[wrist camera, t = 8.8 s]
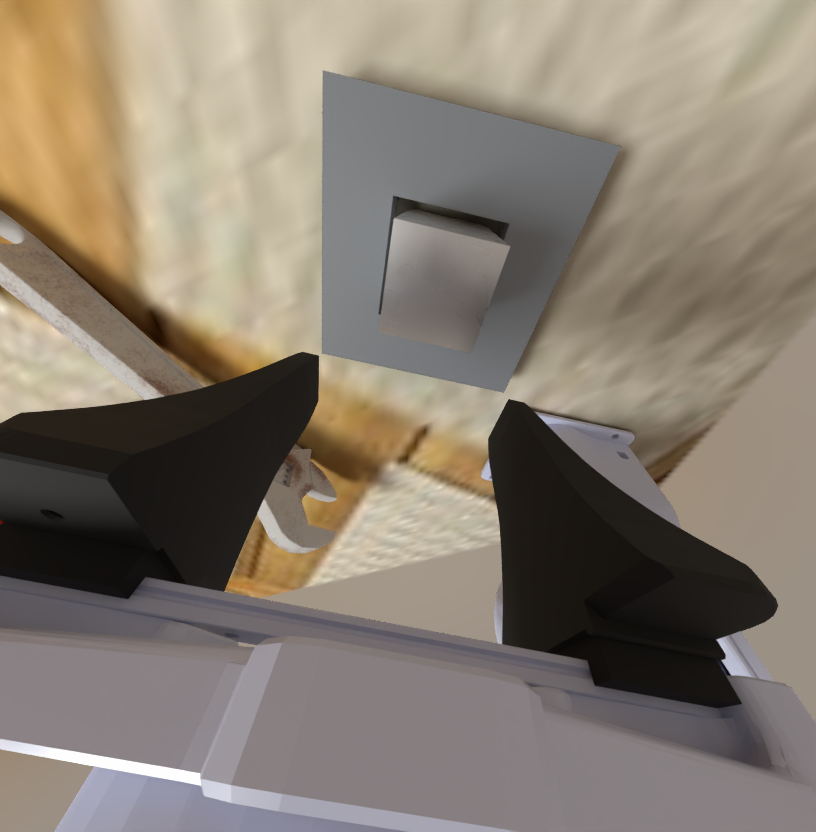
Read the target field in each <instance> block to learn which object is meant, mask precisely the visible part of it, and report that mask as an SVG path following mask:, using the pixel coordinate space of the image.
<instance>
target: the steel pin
mask: <svg viewBox="0 0 816 832" xmlns="http://www.w3.org/2000/svg"><path fill="white" fill-rule="evenodd" d="M509 249H510V246H509V245H508V244H507V243H506V242H504V241H503V240H502V239H501V238H500V237H498V236H497V235H496V234H495V233H494V232H492V231H491V230H490V229H489V228H487V227H486V226H483V225H478V224H474V223H470V222H466V221H462V220H458V219H454V218H450V217H446V216H442V215H437V214H433V213H429V212H425V211H421V210H417V209H413V208H411V209H409V210H408V211H406V212H404V213H402V214H400V215H399V216H397V217H395V218H394V220H393V228H392V235H391V243H390V250H389V258H388V265H387V273H386V280H385V287H384V295H383V302H382V310H381V317H380V325H379V333H384V334H388V335H393V336H397V337H402V338H406V339H411V340H415V341H419V342H424V343H428V344H433V345H437V346H442V347H446V348H451V349H455V350H460V351H464V352H469V353H472V351H473V348H474V345H475V343H476V340H477V337H478V334H479V332H480V329H481V326H482V323H483V320H484V318H485V315H486V312H487V309H488V307H489V304H490V301H491V298H492V296H493V293H494V290H495V287H496V285H497V282H498V279H499V276H500V273H501V271H502V268H503V265H504V262H505V260H506V257H507V254H508V251H509Z"/></svg>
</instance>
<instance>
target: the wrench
mask: <svg viewBox="0 0 816 832" xmlns="http://www.w3.org/2000/svg"><path fill="white" fill-rule="evenodd" d="M0 236H2V237H4V238H5V239H7V240H9V241H11V242H13V243H14V244H13V245H12V244H2V243H0V285H1V286H2V287H4V288H5V289H6V290H7V291H9V292H10V293H11V294H12V295H14V296H15V297H16V298H17V299H19V300H20V301H21V302H22V303H24V304H25V305H26V306H27V307H29V308H30V309H31V310H33V311H34V312H35V313H36V314H38V315H39V316H40V317H41V318H43V319H44V320H45V321H46V322H48V323H49V324H50V325H51V326H53V327H54V328H55V329H57V330H58V331H59V332H60V333H62V334H63V335H64V336H65V337H67V338H68V339H69V340H70V341H72V342H73V343H74V344H75V345H77V346H78V347H79V348H81V349H82V350H83V351H84V352H86V353H87V354H88V355H89V356H91V357H92V358H93V359H94V360H96V361H97V362H98V363H99V364H101V365H102V366H103V367H105V368H106V369H107V370H108V371H110V372H111V373H112V374H113V375H115V376H116V377H117V378H118V379H120V380H121V381H122V382H123V383H125V384H126V385H127V386H128V387H130V388H131V389H132V390H134V391H135V392H136V393H137V394H139V395H140V396H141V397H142V398H144V399H145V400H148V399H154V398H159V397H164V396H168V395H173V394H178V393H183V392H188V391H192V390H196V389H200V388H204V387H203V386H202V385H201V384H200V383H199V382H198V381H196V380H195V379H194V378H193V377H192V376H191V375H190V374H189V373H188V372H186V371H185V370H184V369H183V368H182V367H181V366H180V365H179V364H178V363H176V362H175V361H174V360H173V359H172V358H171V357H170V356H169V355H168V354H166V353H165V352H164V351H163V350H162V349H161V348H160V347H159V346H157V345H156V344H155V343H154V342H153V341H152V340H151V339H150V338H148V337H147V336H146V335H145V334H144V333H143V332H142V331H141V330H139V329H138V328H137V327H136V326H135V325H134V324H133V323H132V322H130V321H129V320H128V319H127V318H126V317H125V316H124V315H123V314H121V313H120V312H119V311H118V310H117V309H116V308H115V307H114V306H112V305H111V304H110V303H109V302H108V301H107V300H106V299H105V298H103V297H102V296H101V295H100V294H99V293H98V292H97V291H96V290H95V289H94V288H92V287H91V286H90V285H89V284H88V283H87V282H86V281H85V280H84V279H83V278H81V277H80V276H79V275H78V274H77V273H76V272H75V271H74V270H73V269H72V268H70V267H69V266H68V265H67V264H66V263H65V262H64V261H63V260H62V259H61V258H60V257H58V256H57V255H56V254H55V253H54V252H53V251H52V250H51V249H49V248H48V247H47V246H46V245H45V244H44V243H42V242H41V241H40V240H39V239H38V238H37V237H35V236H34V235H33V234H31V233H30V232H29V231H28V230H26V229H25V228H24V227H22V226H21V225H20V224H18V223H17V222H16V221H15V220H13V219H12V218H11V217H9V216H8V215H7V214H6V213H4V212H3V211H2V210H0ZM311 451H312V450H311V449H302V448H301V447H300V446H299V445H297V444H295V445H294V447H293V448H292V450H291V451H290V453H289V454H288V456H287V457H286V459H285V461H284V462H283V464H282V465H281V467H280V469H279V470H278V472H277V474H276V476H275V477H274V479H273V481H272V484H271V486H270V488H269V490H268V492H267V494H266V496H265V498H264V500H263V502H262V504H261V506H260V508H259V511H258V513H257V514H258V516H259V518H260V520H261V522H262V524H263V526H264V528H265V530H266V532H267V534H268V536H269V538H270V539H271V540H272V541H273V542H274V543H275V544H276V545H277V546H278V547H280V548H282V549H284V550H286V551H288V552H289V553H308V552H310V551H313V550H316V549H318V548H321V547H323V546H326V545H327V544H329V543H330V542H331V541H332V540H333V539H334V536H335V532H334V531H330V530H326V529H323V528H319V527H315V526H311V525H308V521H307V518H306V514H305V511H304V508H303V504H302V498H303V497H304V496H305V495H306V494H307V495H308V496H310V497H313V498H315V499H317V500H320V501H325V502H333V501H335V500H336V492H335V490H334V488H333V486H332V485H331V483H330V481H329V480H328V479H327V477H326V476H325V474H324V473H323V471H322V470H320V469H319V468H318V467H317V466H316V465H315V464H314V463H313V462H312V461H310V457H311Z"/></svg>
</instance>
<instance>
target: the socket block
mask: <svg viewBox="0 0 816 832" xmlns="http://www.w3.org/2000/svg"><path fill="white" fill-rule="evenodd" d="M620 148H621V146H617V145H614V144H610V143H606V142H602V141H598V140H594V139H590V138H586V137H582V136H578V135H574V134H570V133H567V132H563V131H559V130H555V129H551V128H547V127H543V126H539V125H535V124H531V123H527V122H523V121H519V120H516V119H512V118H508V117H504V116H500V115H496V114H492V113H488V112H484V111H480V110H476V109H472V108H468V107H465V106H461V105H457V104H453V103H449V102H445V101H441V100H437V99H433V98H429V97H425V96H421V95H418V94H414V93H410V92H406V91H402V90H398V89H394V88H390V87H386V86H382V85H378V84H374V83H370V82H367V81H363V80H359V79H355V78H351V77H347V76H343V75H339V74H335V73H331V72H327V71H323V171H322V353H323V354H327V355H332V356H337V357H341V358H346V359H351V360H355V361H360V362H365V363H369V364H374V365H378V366H383V367H388V368H392V369H397V370H402V371H406V372H411V373H416V374H420V375H425V376H429V377H434V378H439V379H443V380H448V381H453V382H457V383H462V384H467V385H471V386H476V387H480V388H485V389H490V390H494V391H499V392H504V391H505V389H506V387H507V385H508V383H509V381H510V379H511V377H512V374H513V372H514V370H515V368H516V366H517V364H518V362H519V360H520V358H521V356H522V353H523V351H524V349H525V347H526V345H527V343H528V341H529V339H530V337H531V335H532V333H533V330H534V328H535V326H536V324H537V322H538V320H539V318H540V316H541V314H542V312H543V309H544V307H545V305H546V303H547V301H548V299H549V297H550V295H551V293H552V291H553V288H554V286H555V284H556V282H557V280H558V278H559V276H560V274H561V272H562V270H563V268H564V265H565V263H566V261H567V259H568V257H569V255H570V253H571V251H572V249H573V247H574V244H575V242H576V240H577V238H578V236H579V234H580V232H581V230H582V228H583V226H584V223H585V221H586V219H587V217H588V215H589V213H590V211H591V209H592V207H593V205H594V203H595V200H596V198H597V196H598V194H599V192H600V190H601V188H602V186H603V184H604V182H605V179H606V177H607V175H608V173H609V171H610V169H611V167H612V165H613V163H614V161H615V158H616V156H617V154H618V152H619V150H620ZM398 197H401V198H405V199H410V200H414V201H418V202H422V203H426V204H430V205H435V206H439V207H443V208H447V209H451V210H455V211H460V212H464V213H468V214H472V215H476V216H480V217H485V218H489V219H493V220H497V221H501V222H502V224H501V227H500V230H499V233H498V237H500V238H501V239H502V240H503V241H504V242H506V243H507V244H508V245H509V246H510V249H509V251H508V254H507V257H506V260H505V262H504V265H503V268H502V271H501V273H500V276H499V279H498V282H497V285H496V287H495V290H494V293H493V296H492V298H491V301H490V304H489V307H488V309H487V312H486V315H485V318H484V320H483V323H482V326H481V329H480V332H479V334H478V337H477V340H476V343H475V345H474V348H473V351H472V353H469V352H464V351H460V350H455V349H451V348H446V347H442V346H437V345H433V344H428V343H424V342H419V341H415V340H411V339H406V338H402V337H397V336H393V335H388V334H384V333H379V325H380V317H381V310H382V302H383V295H384V287H385V280H386V273H387V265H388V258H389V250H390V243H391V235H392V228H393V220H394V218H395V217H396V210H397V203H398Z"/></svg>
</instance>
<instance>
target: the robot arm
mask: <svg viewBox="0 0 816 832" xmlns="http://www.w3.org/2000/svg"><path fill="white" fill-rule="evenodd" d="M318 386H319V356H318V355H313V354H309V353H305V352H301V353H297V354H295V355H292V356H290V357H287V358H285V359H282V360H280V361H278V362H275V363H273V364H270V365H268V366H266V367H263V368H261V369H258V370H256V371H253V372H250V373H247V374H245V375H242V376H239V377H236V378H234V379H231V380H228V381H225V382H222V383H218V384H215V385H211V386H208V387H204V388H200V389H196V390H192V391H188V392H183V393H178V394H173V395H168V396H164V397H159V398H154V399H148V400H142V401H135V402H129V403H121V404H114V405H106V406H97V407H88V408H77V409H65V410H53V411H41V412H27V413H20V414H18V415H15V416H13V417H12V418H10V419H8V420H6V421H4V422H2V423H0V520H1V521H3V523H2V524H1V525H0V749H2V750H8V751H13V752H20V753H24V754H30V755H36V756H42V757H47V758H52V759H58V760H64V761H69V762H74V763H80V764H86V765H91V766H94V768H93V769H92V771H91V773H90V774H89V776H88V778H87V779H86V781H85V782H84V784H83V786H82V787H81V789H80V791H79V792H78V794H77V796H76V798H75V799H74V801H73V802H72V804H71V805H70V807H69V809H68V810H67V812H66V814H65V815H64V817H63V818H62V820H61V822H60V823H59V825H58V827H57V829H56V830H55V832H816V722H815V721H814V719H813V718H812V716H811V715H810V714H809V712H808V711H807V709H806V708H805V706H804V705H803V703H802V702H801V701H800V699H799V698H798V697H797V695H796V694H795V692H794V691H793V689H792V688H791V687H790V686H788V685H786V684H784V683H779V682H775V681H774V679H773V678H772V676H771V675H770V674H769V672H768V670H767V669H766V667H765V666H764V665H763V663H762V662H761V660H760V659H759V657H758V656H757V654H756V653H755V651H754V650H753V648H752V647H751V645H750V644H749V642H748V641H747V640H746V638H745V637H744V635H743V634H742V632H741V631H743V630H746V629H749V628H751V627H754V626H756V625H759V624H761V623H764V622H765V621H767V620H768V619H770V618H771V617H772V616H773V615H774V614H775V612H776V610H777V607H778V604H777V601H776V598H774V596H773V595H772V594H771V592H770V591H769V590H768V589H767V588H766V586H765V585H764V584H763V583H762V581H761V580H760V579H759V578H758V577H757V575H756V574H755V573H754V572H753V571H752V570H751V569H750V568H749V567H748V566H747V565H746V564H744V563H742V562H740V561H738V560H736V559H734V558H733V557H731V556H729V555H727V554H725V553H723V552H721V551H719V550H718V549H716V548H714V547H712V546H710V545H709V544H707V543H705V542H703V541H701V540H699V539H698V538H696V537H694V536H692V535H690V534H689V533H687V532H685V531H684V530H682V529H680V524H679V520H678V517H677V515H676V513H675V510H674V509H673V507H672V505H671V504H670V502H669V501H668V500H667V498H666V497H665V496H664V494H663V493H662V491H661V490H660V489H659V487H658V486H657V485H656V483H655V482H654V480H653V479H652V478H651V476H650V475H649V474H648V472H647V471H646V470H645V468H644V467H643V465H642V464H641V463H640V461H639V460H638V459H637V457H636V456H635V454H634V453H633V452H632V450H631V449H630V448H629V445H630V444H631V443H632V442H633V441H634V439H635V436H634V435H633V433H632V432H629V431H624V430H619V429H615V428H610V427H605V426H601V425H596V424H591V423H587V422H582V421H577V420H573V419H568V418H563V417H559V416H554V415H549V414H545V413H540V412H535V411H533V410H532V409H531V408H530V407H529V406H528V405H526V404H525V403H523V402H519V401H514V400H510V399H508V401H507V403H506V405H505V407H504V409H503V411H502V413H501V415H500V417H499V419H498V421H497V423H496V425H495V427H494V429H493V430H492V432H491V434H490V436H489V438H488V451H489V458H488V460H487V462H486V464H485V466H484V468H483V470H482V472H481V477H482V478H483V479H485V480H490V481H492V482H493V487H494V493H495V498H496V504H497V509H498V516H499V523H500V537H501V552H502V582H501V583H500V585H499V587H498V590H497V594H496V600H495V605H494V624H495V631H496V637H497V642H498V644H497V643H492V642H487V641H482V640H476V639H471V638H466V637H460V636H455V635H449V634H445V633H439V632H434V631H429V630H423V629H418V628H413V627H407V626H402V625H396V624H391V623H386V622H380V621H375V620H370V619H365V618H360V617H355V616H349V615H344V614H338V613H333V612H327V611H323V610H318V609H312V608H307V607H302V606H296V605H291V604H285V603H281V602H274V601H270V600H265V599H259V598H254V597H249V596H243V595H238V594H233V593H228V592H224V591H225V588H226V586H227V583H228V581H229V578H230V576H231V573H232V571H233V568H234V566H235V563H236V561H237V558H238V556H239V554H240V551H241V549H242V547H243V544H244V542H245V540H246V537H247V535H248V533H249V530H250V528H251V526H252V524H253V521H254V519H255V517H256V515H257V513H258V511H259V508H260V506H261V504H262V502H263V500H264V498H265V496H266V494H267V492H268V490H269V488H270V486H271V484H272V481H273V479H274V477H275V476H276V474H277V472H278V470H279V469H280V467H281V465H282V464H283V462H284V461H285V459H286V457H287V456H288V454H289V453H290V451H291V450H292V448H293V447H294V445H295V443H296V442H297V440H298V439H299V437H300V436H301V434H302V432H303V431H304V429H305V428H306V426H307V424H308V423H309V421H310V419H311V416H312V414H313V412H314V410H315V407H316V405H317V403H318ZM615 434H616V435H615ZM613 435H614V436H613ZM238 642H243V643H248V644H254V645H257V646H256V647H242V646H239V645H238Z"/></svg>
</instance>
